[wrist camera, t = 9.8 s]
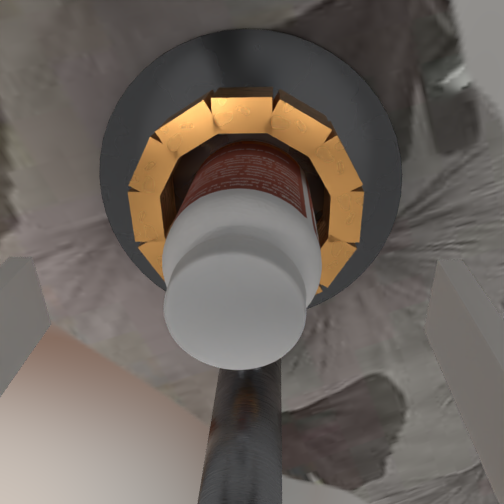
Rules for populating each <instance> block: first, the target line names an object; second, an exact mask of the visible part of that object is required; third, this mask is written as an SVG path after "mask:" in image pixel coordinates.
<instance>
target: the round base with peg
mask: <svg viewBox="0 0 504 504" xmlns="http://www.w3.org/2000/svg"><path fill="white" fill-rule="evenodd" d="M240 140H259V141H264V142H268V143H271V144H273V145H275V146H278V147H279V148H281V149H283V150H284V151H286V152H287V153H288V154H290V155H291V156H292V157H293V158H294V159H295V160H296V161H297V162H298V164H299V165H300V166H301V168H302V170H303V172H304V174H305V176H306V178H307V181H308V184H309V188H310V193H311V199H312V204H313V210H314V215H315V221H316V227H317V233H318V238H319V244H320V250H321V259H322V272H321V279H320V283H319V286H318V289H317V291H316V294H315V296H314V298H313V299H312V301H311V303H310V304H309V306H308V307H307V308H306V309H308V308H310V307H313V306H315V305H318V304H320V303H322V302H324V301H326V300H328V299H329V298H331V297H333V296H335V295H336V294H338V293H339V292H341V291H342V290H343V289H345V288H346V287H348V286H349V285H350V284H351V283H352V282H354V281H355V280H356V279H357V278H358V277H359V276H360V275H361V274H362V273H363V272H364V271H365V270H366V269H367V268H368V266H369V265H370V264H371V263H372V262H373V261H374V259H375V258H376V256H377V255H378V253H379V252H380V250H381V249H382V247H383V246H384V244H385V242H386V240H387V238H388V236H389V234H390V232H391V229H392V226H393V224H394V221H395V218H396V215H397V211H398V207H399V202H400V197H401V185H402V168H401V156H400V151H399V147H398V142H397V138H396V135H395V132H394V130H393V127H392V124H391V122H390V119H389V117H388V115H387V113H386V111H385V109H384V108H383V106H382V104H381V102H380V100H379V99H378V97H377V96H376V95H375V94H374V92H373V91H372V90H371V88H370V87H369V86H368V84H367V83H366V82H365V81H364V80H363V79H362V78H361V77H360V76H359V75H358V74H357V73H356V72H355V71H354V70H353V69H352V68H351V67H350V66H349V65H347V64H346V63H345V62H343V61H342V60H340V59H339V58H338V57H336V56H335V55H334V54H332V53H331V52H329V51H327V50H325V49H323V48H322V47H320V46H318V45H316V44H314V43H312V42H310V41H307V40H304V39H301V38H299V37H296V36H293V35H290V34H285V33H280V32H275V31H270V30H259V29H238V30H227V31H221V32H217V33H212V34H208V35H204V36H201V37H198V38H196V39H193V40H191V41H188V42H186V43H183V44H181V45H179V46H177V47H175V48H173V49H172V50H170V51H168V52H167V53H165V54H163V55H162V56H160V57H159V58H158V59H156V60H155V61H154V62H153V63H151V64H150V65H149V66H148V67H146V68H145V69H144V70H143V71H142V72H141V73H140V74H139V75H138V76H137V77H136V79H135V80H134V81H133V82H132V83H131V84H130V85H129V87H128V88H127V89H126V91H125V92H124V94H123V95H122V97H121V98H120V100H119V101H118V103H117V105H116V107H115V109H114V111H113V113H112V115H111V118H110V120H109V122H108V126H107V129H106V132H105V135H104V138H103V143H102V150H101V156H100V185H101V194H102V199H103V203H104V207H105V211H106V214H107V217H108V219H109V222H110V225H111V227H112V230H113V232H114V233H115V235H116V237H117V239H118V241H119V243H120V245H121V246H122V248H123V249H124V251H125V252H126V253H127V255H128V256H129V258H130V259H131V260H132V261H133V263H134V264H135V265H136V266H137V267H138V268H139V269H140V270H141V271H142V273H143V274H145V275H146V276H147V277H148V278H149V279H150V280H151V281H153V282H154V283H155V284H156V285H157V286H159V287H160V288H162V289H163V290H164V291H166V290H167V286H166V284H165V280H164V276H163V271H162V255H163V249H164V244H165V241H166V238H167V236H168V234H169V231H170V229H171V226H172V224H173V222H174V220H175V218H176V216H177V214H178V211H179V209H180V207H181V205H182V203H183V201H184V199H185V197H186V195H187V193H188V191H189V188H190V186H191V184H192V182H193V180H194V178H195V176H196V174H197V172H198V170H199V168H200V166H201V165H202V164H203V162H204V161H205V160H206V159H207V157H208V156H209V155H211V154H212V153H213V152H214V151H216V150H217V149H218V148H220V147H222V146H224V145H226V144H229V143H231V142H235V141H240ZM198 504H282V425H281V358H280V359H278V360H277V361H275V362H273V363H270V364H268V365H265V366H262V367H258V368H254V369H247V370H230V369H222V368H220V370H219V376H218V382H217V388H216V394H215V400H214V406H213V412H212V419H211V425H210V431H209V437H208V443H207V449H206V455H205V461H204V467H203V474H202V479H201V486H200V492H199V498H198Z"/></svg>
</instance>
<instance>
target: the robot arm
mask: <svg viewBox="0 0 504 504" xmlns="http://www.w3.org/2000/svg"><path fill="white" fill-rule="evenodd" d="M50 325H51V321H50V317H49V314H48V310H47V307H46V303H45V300H44V296H43V293H42V289H41V286H40V282H39V279H38V275H37V272H36V268H35V265H34V262H33V258H32V257H9V258H8V259H7V260H6V261H5V262H4V263H3V264H2V265H1V266H0V397H1V395H2V394H3V392H4V391H5V390H6V388H7V387H8V385H9V384H10V382H11V381H12V380H13V378H14V377H15V375H16V374H17V372H18V371H19V370H20V368H21V367H22V365H23V364H24V362H25V361H26V360H27V358H28V357H29V355H30V354H31V352H32V351H33V349H34V348H35V347H36V345H37V344H38V342H39V341H40V339H41V338H42V337H43V335H44V334H45V332H46V331H47V329H48V328H49V327H50ZM424 331H425V333H426V336H427V338H428V340H429V343H430V345H431V347H432V350H433V352H434V354H435V357H436V359H437V361H438V364H439V366H440V368H441V370H442V373H443V375H444V377H445V380H446V382H447V384H448V387H449V389H450V391H451V394H452V396H453V398H454V401H455V403H456V405H457V408H458V410H459V412H460V415H461V417H462V419H463V422H464V424H465V426H466V428H467V431H468V433H469V435H470V438H471V440H472V442H473V445H474V447H475V449H476V452H477V454H478V456H479V459H480V461H481V463H482V466H483V468H484V470H485V473H486V475H487V477H488V480H489V482H490V484H491V486H492V489H493V491H494V493H495V496H496V498H497V500H498V503H499V504H504V319H503V318H502V316H501V315H500V314H499V312H498V311H497V309H496V308H495V306H494V305H493V303H492V302H491V301H490V299H489V298H488V296H487V295H486V293H485V292H484V290H483V289H482V287H481V286H480V285H479V283H478V282H477V280H476V279H475V277H474V276H473V274H472V273H471V272H470V270H469V269H468V267H467V266H466V264H465V263H464V261H463V260H437V265H436V270H435V275H434V280H433V285H432V291H431V296H430V301H429V306H428V311H427V316H426V321H425V326H424Z"/></svg>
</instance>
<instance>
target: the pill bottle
mask: <svg viewBox="0 0 504 504" xmlns="http://www.w3.org/2000/svg"><path fill="white" fill-rule="evenodd" d="M162 271H163V276H164V280H165V284H166V286H167V290H166V293H165V297H164V317H165V321H166V325H167V328H168V330H169V332H170V334H171V335H172V337H173V339H174V340H175V341H176V342H177V344H178V345H179V346H180V347H181V348H182V349H183V350H184V351H186V352H187V353H188V354H189V355H191V356H192V357H194V358H195V359H197V360H199V361H201V362H203V363H206V364H208V365H211V366H214V367H218V368H222V369H230V370H247V369H254V368H258V367H262V366H265V365H268V364H270V363H273V362H275V361H277V360H278V359H280V358H281V357H283V356H284V355H285V354H286V353H288V352H289V351H290V350H291V349H292V348H293V347H294V345H295V344H296V343H297V341H298V340H299V338H300V336H301V334H302V332H303V329H304V326H305V321H306V308H307V307H308V306H309V304H310V303H311V301H312V299H313V298H314V296H315V294H316V291H317V289H318V286H319V283H320V279H321V272H322V259H321V250H320V244H319V238H318V233H317V227H316V221H315V215H314V210H313V204H312V199H311V193H310V188H309V184H308V181H307V178H306V176H305V174H304V172H303V170H302V168H301V166H300V165H299V164H298V162H297V161H296V160H295V159H294V158H293V157H292V156H291V155H290V154H288V153H287V152H286V151H284V150H283V149H281V148H279V147H278V146H275V145H273V144H271V143H268V142H264V141H259V140H240V141H235V142H231V143H229V144H226V145H224V146H222V147H220V148H218V149H217V150H216V151H214V152H213V153H212V154H211V155H209V156H208V157H207V159H206V160H205V161H204V162H203V164H202V165H201V166H200V168H199V170H198V172H197V174H196V176H195V178H194V180H193V182H192V184H191V186H190V188H189V191H188V193H187V195H186V197H185V199H184V201H183V203H182V205H181V207H180V209H179V211H178V214H177V216H176V218H175V220H174V222H173V224H172V226H171V229H170V231H169V234H168V236H167V238H166V241H165V244H164V249H163V255H162Z"/></svg>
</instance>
